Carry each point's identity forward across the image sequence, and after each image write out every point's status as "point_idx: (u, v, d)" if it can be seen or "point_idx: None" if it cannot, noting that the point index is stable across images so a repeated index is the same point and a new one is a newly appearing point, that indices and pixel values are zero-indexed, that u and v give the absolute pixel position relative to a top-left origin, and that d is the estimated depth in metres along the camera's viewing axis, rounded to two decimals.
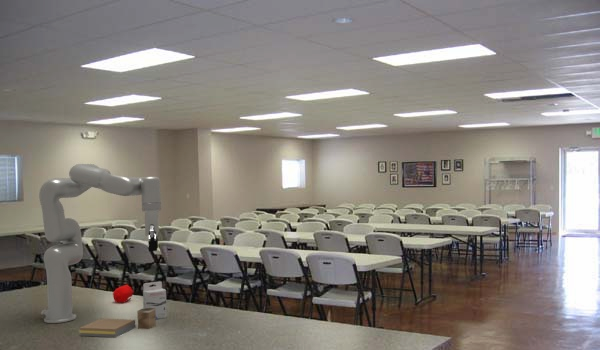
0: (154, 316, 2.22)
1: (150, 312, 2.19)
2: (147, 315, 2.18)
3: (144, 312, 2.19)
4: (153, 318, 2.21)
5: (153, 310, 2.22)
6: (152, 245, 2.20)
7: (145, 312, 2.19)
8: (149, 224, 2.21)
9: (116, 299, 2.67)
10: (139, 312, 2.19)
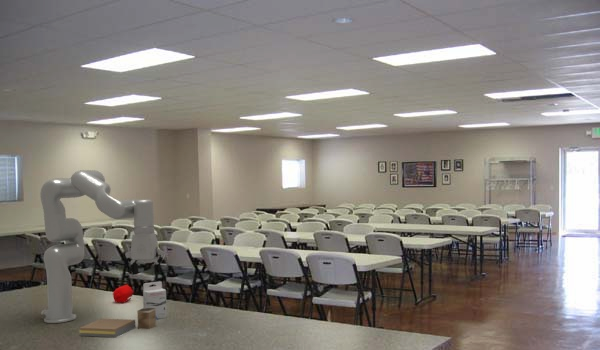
0: (154, 316, 2.22)
1: (150, 312, 2.19)
2: (147, 315, 2.18)
3: (144, 312, 2.19)
4: (153, 318, 2.21)
5: (153, 310, 2.22)
6: (159, 268, 2.20)
7: (145, 312, 2.19)
8: (155, 247, 2.19)
9: (116, 299, 2.67)
10: (139, 312, 2.19)
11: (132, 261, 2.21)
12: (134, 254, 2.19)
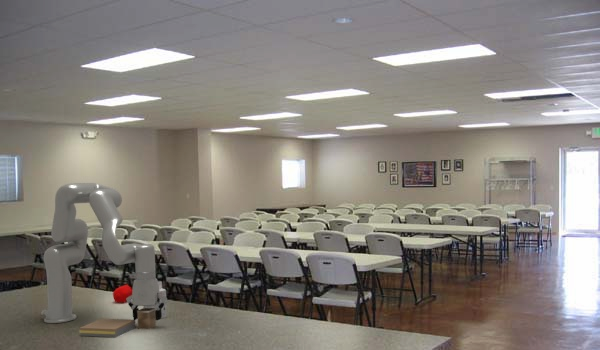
0: (154, 316, 2.22)
1: (150, 312, 2.19)
2: (147, 315, 2.18)
3: (144, 312, 2.19)
4: (153, 318, 2.21)
5: (153, 310, 2.22)
6: (160, 313, 2.20)
7: (145, 312, 2.19)
8: (156, 293, 2.19)
9: (116, 299, 2.67)
10: (139, 312, 2.19)
11: (133, 306, 2.21)
12: (135, 300, 2.19)
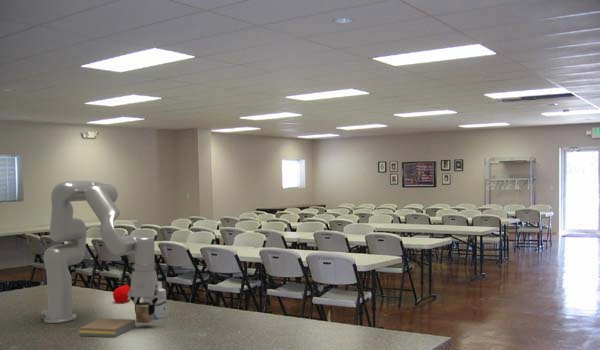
0: None
1: (148, 306, 2.20)
2: (145, 309, 2.19)
3: (142, 306, 2.19)
4: None
5: None
6: (153, 308, 2.21)
7: (143, 306, 2.19)
8: (155, 285, 2.19)
9: (116, 299, 2.66)
10: (137, 306, 2.20)
11: (135, 300, 2.21)
12: (133, 291, 2.20)
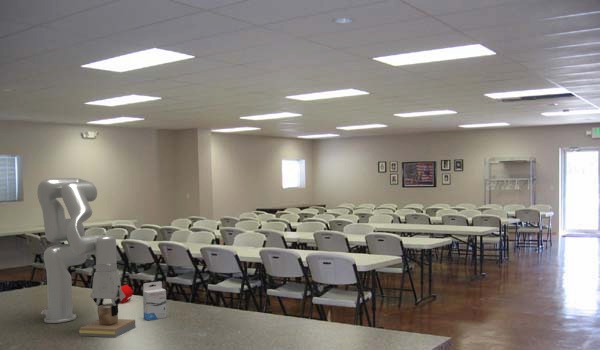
0: None
1: None
2: (108, 310, 2.13)
3: (105, 307, 2.14)
4: None
5: None
6: (116, 309, 2.15)
7: (106, 307, 2.14)
8: (117, 285, 2.14)
9: None
10: (100, 307, 2.14)
11: (97, 301, 2.16)
12: (95, 292, 2.15)
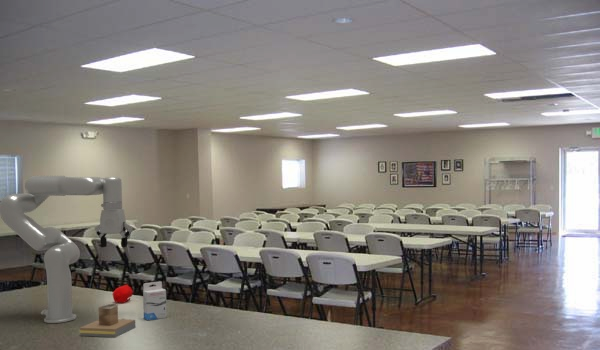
0: (116, 312, 2.17)
1: (111, 308, 2.14)
2: (108, 311, 2.13)
3: (105, 308, 2.14)
4: (115, 314, 2.16)
5: (115, 306, 2.17)
6: (126, 241, 2.35)
7: (106, 308, 2.14)
8: (122, 222, 2.34)
9: (116, 299, 2.66)
10: (100, 308, 2.14)
11: (101, 235, 2.36)
12: (103, 228, 2.34)
